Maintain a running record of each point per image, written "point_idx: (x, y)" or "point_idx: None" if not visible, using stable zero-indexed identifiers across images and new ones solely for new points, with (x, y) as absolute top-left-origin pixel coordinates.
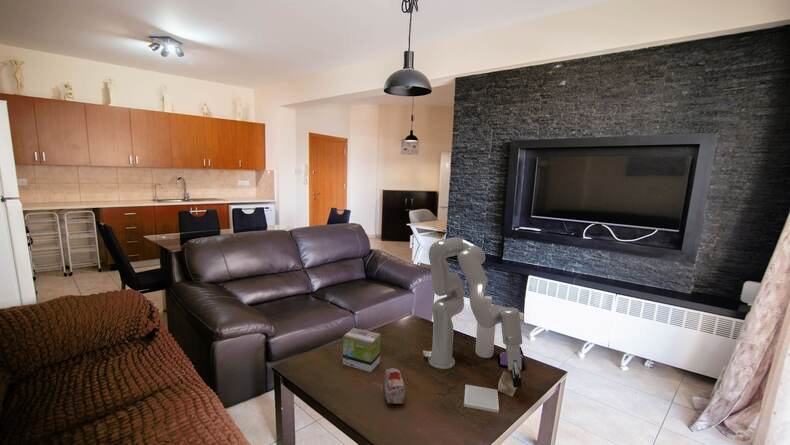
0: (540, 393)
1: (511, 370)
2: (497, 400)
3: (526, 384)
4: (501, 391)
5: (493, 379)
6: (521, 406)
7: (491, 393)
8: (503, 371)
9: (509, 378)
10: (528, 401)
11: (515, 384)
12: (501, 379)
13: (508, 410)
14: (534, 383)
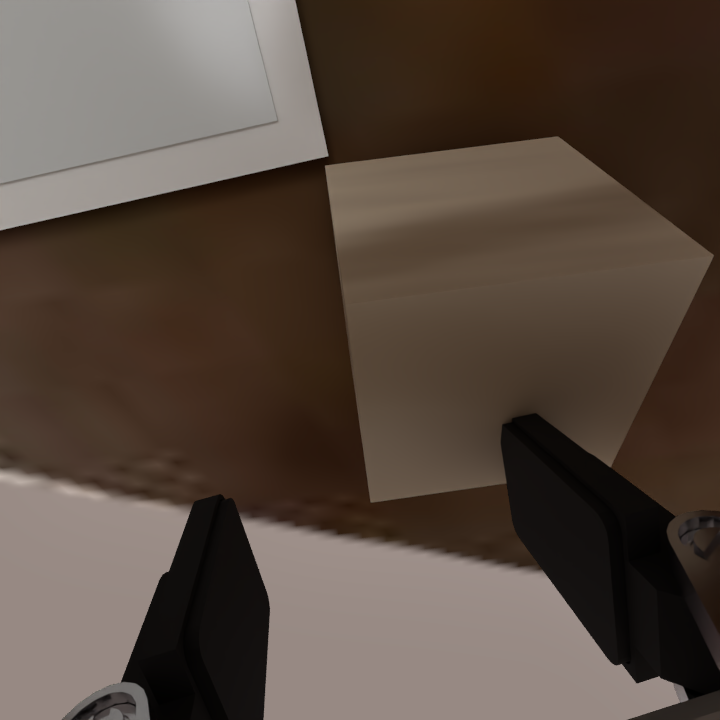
0: (524, 561)
1: (608, 521)
2: (35, 208)
3: (648, 446)
4: (332, 222)
5: (675, 24)
6: (205, 459)
7: (150, 72)
8: (699, 245)
9: (469, 394)
10: (337, 500)
11: (159, 588)
12: (469, 218)
13: (24, 357)
14: (685, 504)
